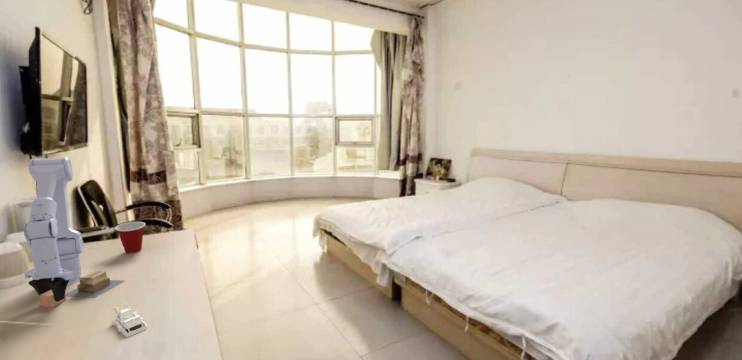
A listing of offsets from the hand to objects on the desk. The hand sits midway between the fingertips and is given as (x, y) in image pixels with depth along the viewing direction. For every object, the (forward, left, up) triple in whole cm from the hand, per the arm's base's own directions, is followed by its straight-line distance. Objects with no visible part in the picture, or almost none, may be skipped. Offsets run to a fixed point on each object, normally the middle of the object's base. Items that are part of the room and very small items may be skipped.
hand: (53, 299), depth 105 cm
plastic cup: (-10, +43, -2) cm, 44 cm away
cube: (0, 0, -2) cm, 2 cm away
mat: (+4, +10, -1) cm, 11 cm away
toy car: (+33, -8, -2) cm, 34 cm away
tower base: (+4, +10, -1) cm, 11 cm away
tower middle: (+4, +10, +1) cm, 11 cm away
